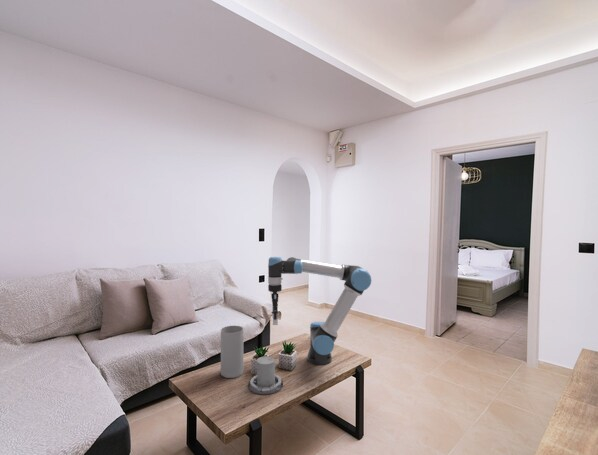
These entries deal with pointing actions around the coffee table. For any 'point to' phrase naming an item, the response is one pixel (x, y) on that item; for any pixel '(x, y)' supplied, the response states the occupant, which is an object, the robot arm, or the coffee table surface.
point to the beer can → (265, 371)
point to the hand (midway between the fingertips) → (274, 321)
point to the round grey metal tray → (265, 390)
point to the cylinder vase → (231, 351)
